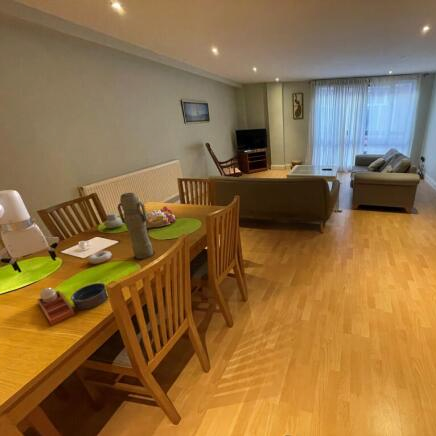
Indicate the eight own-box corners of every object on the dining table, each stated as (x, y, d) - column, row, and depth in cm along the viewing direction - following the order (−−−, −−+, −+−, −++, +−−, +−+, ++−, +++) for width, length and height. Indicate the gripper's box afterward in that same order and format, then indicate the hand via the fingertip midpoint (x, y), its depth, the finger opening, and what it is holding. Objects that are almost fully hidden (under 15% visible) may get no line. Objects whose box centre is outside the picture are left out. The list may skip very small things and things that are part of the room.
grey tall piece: (155, 257, 130) (139, 195, 117) (130, 260, 127) (110, 197, 113) (158, 249, 138) (143, 190, 124) (134, 252, 134) (116, 192, 121)
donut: (98, 255, 132) (84, 265, 123) (96, 249, 131) (82, 259, 122) (116, 254, 133) (104, 264, 123) (114, 249, 131) (102, 258, 122)
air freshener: (126, 225, 169) (122, 212, 165) (115, 230, 162) (111, 216, 158) (114, 223, 172) (110, 210, 168) (103, 228, 165) (99, 214, 161)
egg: (46, 306, 95) (39, 293, 93) (43, 302, 97) (36, 289, 95) (60, 300, 98) (54, 287, 96) (57, 296, 101) (51, 283, 98)
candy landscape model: (178, 224, 171) (175, 212, 167) (140, 231, 159) (136, 219, 156) (173, 213, 190) (171, 202, 187) (139, 219, 179) (136, 208, 175)
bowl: (80, 314, 92) (76, 305, 90) (71, 302, 98) (67, 293, 96) (113, 298, 100) (110, 289, 98) (103, 288, 106) (100, 279, 104)
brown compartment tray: (51, 325, 87) (49, 321, 86) (39, 303, 97) (36, 299, 96) (75, 314, 92) (73, 309, 91) (60, 294, 102) (58, 290, 102)
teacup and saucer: (88, 243, 145) (85, 237, 143) (97, 245, 142) (95, 239, 141) (71, 250, 137) (69, 244, 136) (81, 252, 135) (78, 246, 133)
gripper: (47, 215, 94) (63, 252, 101) (-22, 230, 81) (2, 272, 88) (52, 219, 90) (69, 258, 97) (-19, 236, 77) (6, 280, 84)
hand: (37, 265), depth 92 cm, fingers open, 9 cm apart
